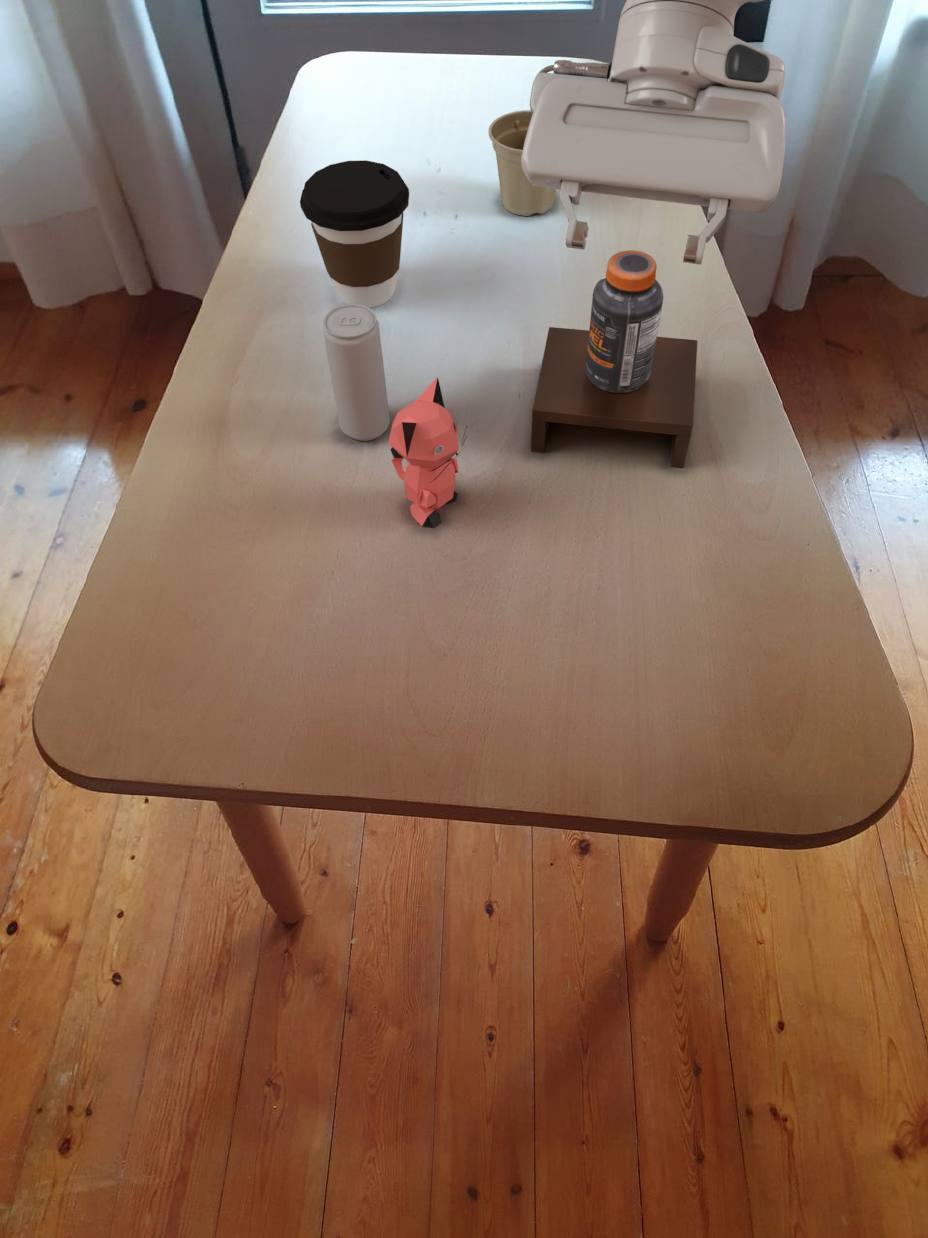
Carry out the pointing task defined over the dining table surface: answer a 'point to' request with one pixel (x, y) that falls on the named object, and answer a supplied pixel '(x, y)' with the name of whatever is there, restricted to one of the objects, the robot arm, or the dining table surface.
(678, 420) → the shelf
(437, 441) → the cat figurine
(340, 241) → the coffee cup
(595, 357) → the pill bottle
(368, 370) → the beverage can
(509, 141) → the flower pot
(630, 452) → the dining table surface
